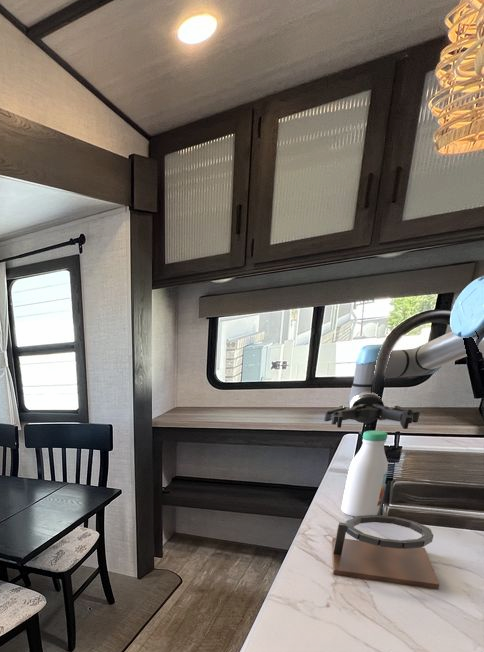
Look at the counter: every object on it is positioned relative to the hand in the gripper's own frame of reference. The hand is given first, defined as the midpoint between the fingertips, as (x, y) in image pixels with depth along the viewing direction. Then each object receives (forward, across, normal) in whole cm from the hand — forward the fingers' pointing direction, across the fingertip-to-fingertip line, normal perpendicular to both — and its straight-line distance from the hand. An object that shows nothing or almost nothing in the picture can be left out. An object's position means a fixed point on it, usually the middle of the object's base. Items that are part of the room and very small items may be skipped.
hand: (372, 422), depth 115 cm
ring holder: (+38, -2, -20) cm, 43 cm away
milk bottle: (+10, 0, -20) cm, 23 cm away
